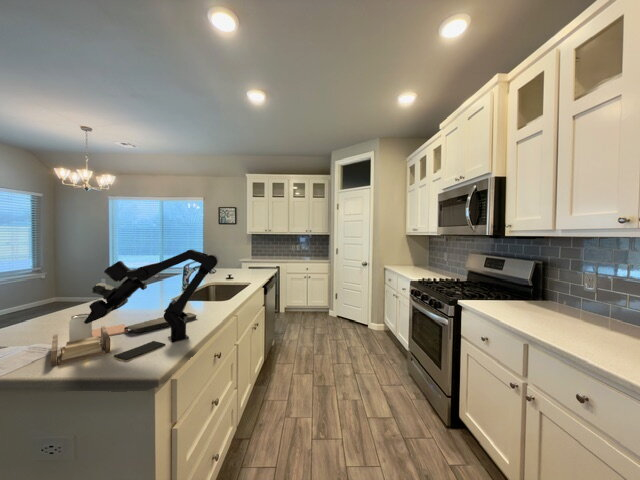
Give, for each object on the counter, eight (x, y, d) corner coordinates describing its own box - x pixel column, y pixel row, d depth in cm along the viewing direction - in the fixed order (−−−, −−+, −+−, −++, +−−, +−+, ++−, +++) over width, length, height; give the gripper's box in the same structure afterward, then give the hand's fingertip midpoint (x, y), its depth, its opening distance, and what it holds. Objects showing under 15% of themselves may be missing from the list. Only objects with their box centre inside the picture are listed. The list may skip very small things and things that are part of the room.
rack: (110, 352, 96) (110, 339, 96) (51, 366, 86) (51, 351, 85) (104, 337, 110) (104, 325, 110) (53, 348, 99) (53, 335, 99)
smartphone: (166, 343, 103) (125, 359, 89) (166, 346, 103) (125, 363, 89) (153, 340, 106) (112, 355, 92) (153, 343, 106) (112, 358, 92)
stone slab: (123, 324, 118) (188, 309, 142) (123, 331, 118) (188, 314, 142) (132, 330, 112) (199, 312, 136) (132, 337, 112) (199, 319, 136)
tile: (128, 332, 116) (128, 330, 116) (93, 339, 108) (93, 337, 108) (124, 325, 125) (124, 324, 125) (91, 331, 116) (91, 330, 116)
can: (74, 344, 103) (74, 314, 103) (94, 342, 105) (95, 312, 105) (65, 351, 97) (65, 319, 96) (87, 348, 99) (87, 317, 99)
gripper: (119, 272, 112) (88, 299, 109) (96, 280, 94) (57, 312, 91) (140, 290, 114) (110, 317, 111) (121, 300, 96) (84, 333, 93)
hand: (92, 319), depth 102 cm, fingers open, 9 cm apart
